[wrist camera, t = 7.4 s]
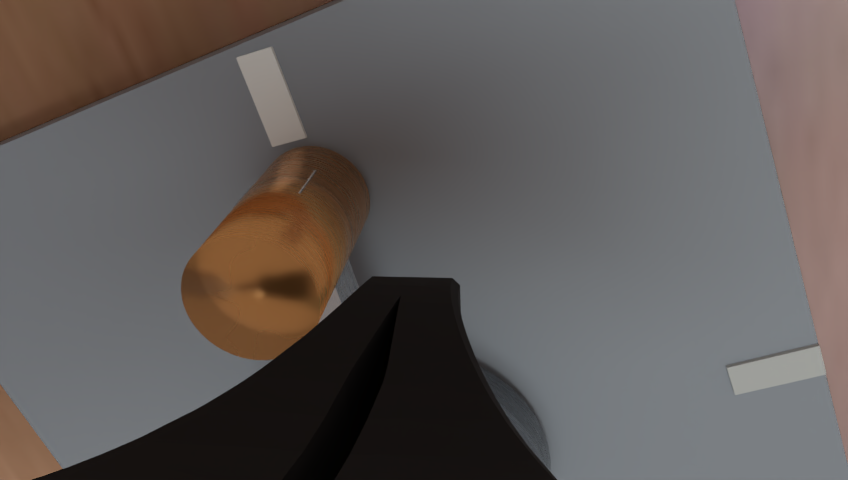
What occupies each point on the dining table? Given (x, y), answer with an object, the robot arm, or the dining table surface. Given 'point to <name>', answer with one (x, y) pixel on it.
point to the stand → (447, 227)
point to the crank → (296, 267)
